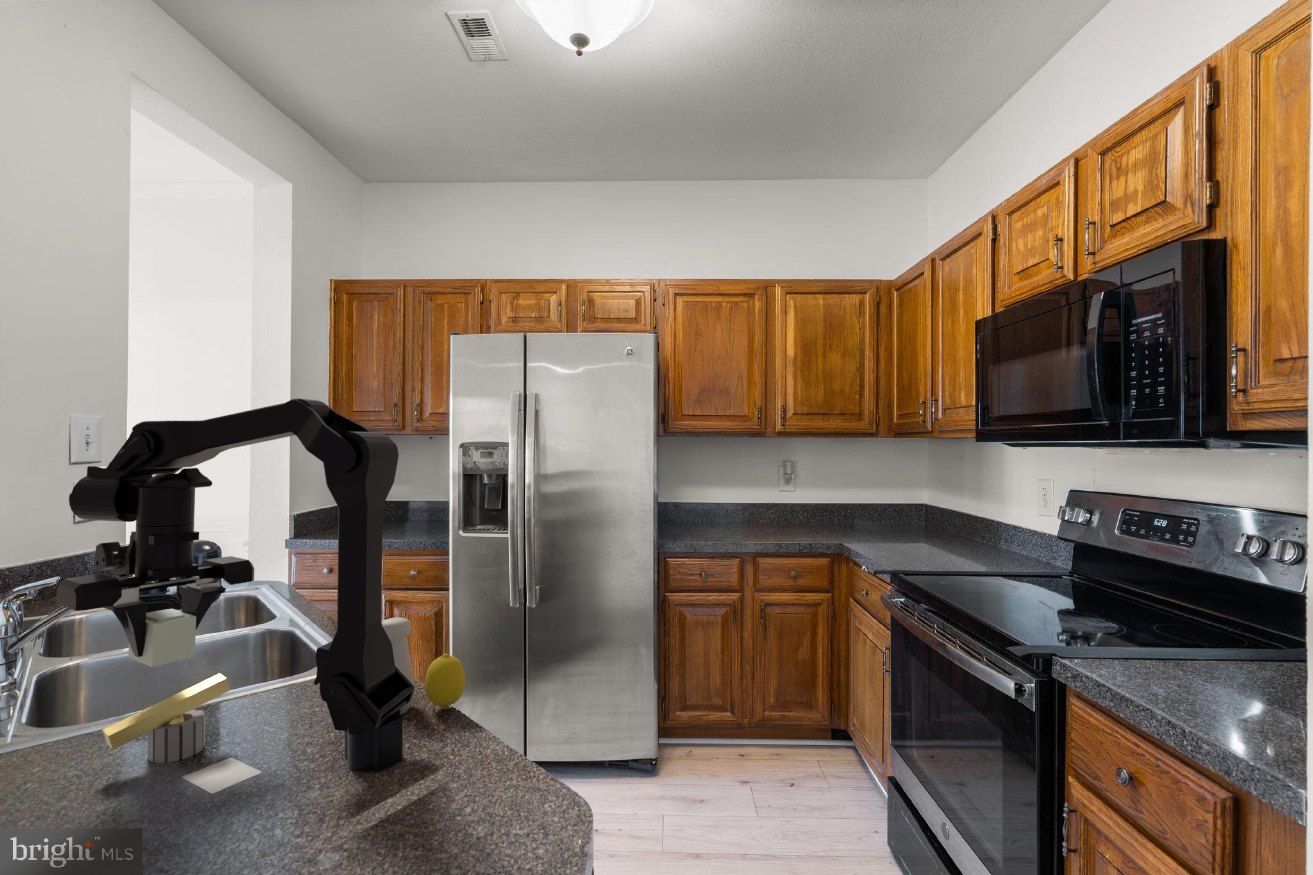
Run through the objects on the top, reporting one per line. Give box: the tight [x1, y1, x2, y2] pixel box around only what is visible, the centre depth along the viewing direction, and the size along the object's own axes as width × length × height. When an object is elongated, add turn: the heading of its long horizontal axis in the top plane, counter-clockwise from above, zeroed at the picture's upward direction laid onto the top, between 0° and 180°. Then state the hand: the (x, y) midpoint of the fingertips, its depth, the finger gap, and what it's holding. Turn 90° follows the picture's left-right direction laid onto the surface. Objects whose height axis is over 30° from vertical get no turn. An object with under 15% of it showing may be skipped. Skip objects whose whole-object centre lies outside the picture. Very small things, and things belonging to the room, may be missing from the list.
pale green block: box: [128, 608, 197, 668], centre depth 79 cm, size 6×4×5 cm
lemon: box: [424, 653, 466, 711], centre depth 93 cm, size 6×6×8 cm
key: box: [102, 673, 230, 750], centre depth 78 cm, size 12×2×6 cm, turn 144°
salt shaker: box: [381, 616, 417, 715], centre depth 93 cm, size 6×6×13 cm
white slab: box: [147, 709, 263, 795], centre depth 75 cm, size 17×10×5 cm, turn 60°
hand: (161, 650), depth 79 cm, fingers closed on pale green block, 4 cm apart
